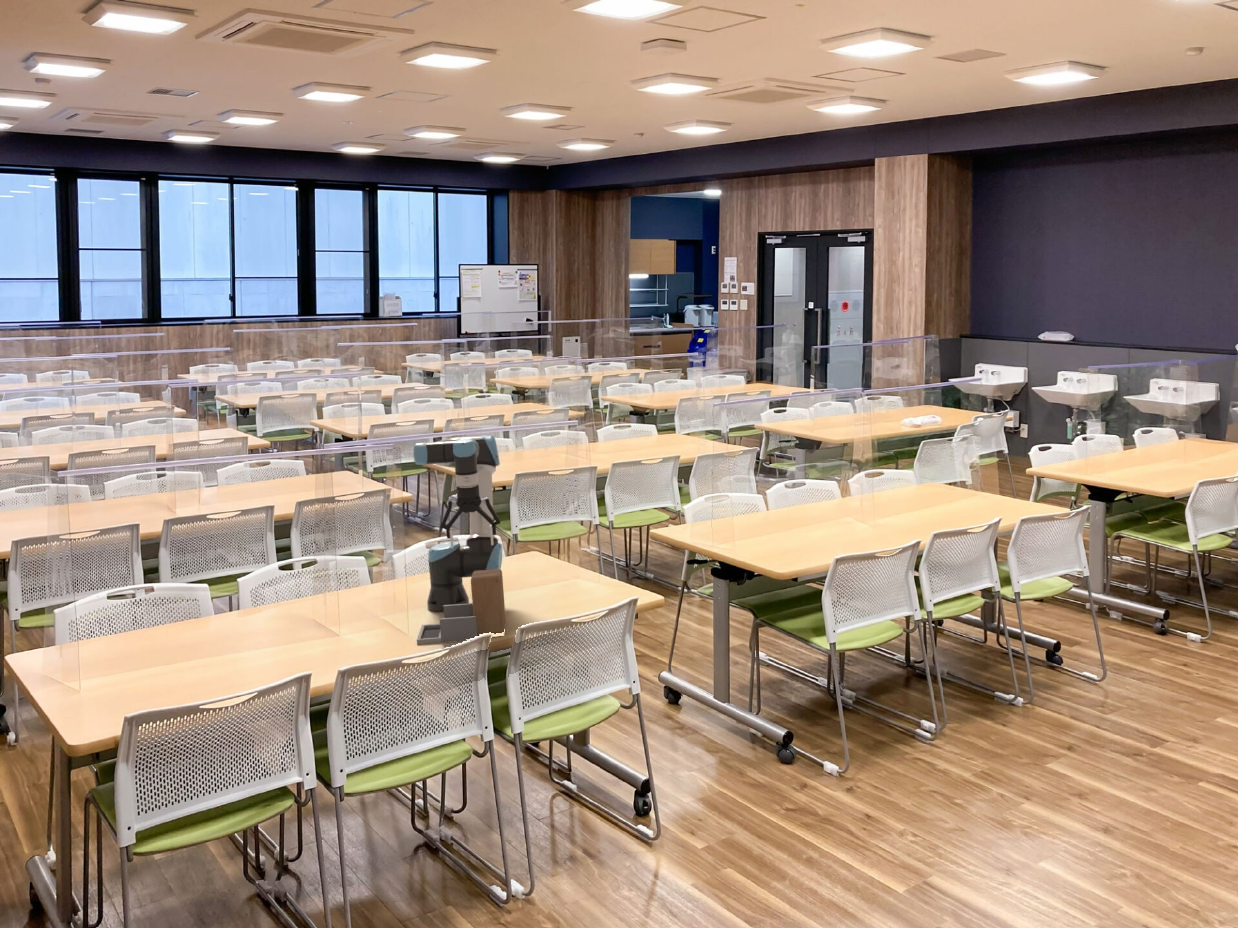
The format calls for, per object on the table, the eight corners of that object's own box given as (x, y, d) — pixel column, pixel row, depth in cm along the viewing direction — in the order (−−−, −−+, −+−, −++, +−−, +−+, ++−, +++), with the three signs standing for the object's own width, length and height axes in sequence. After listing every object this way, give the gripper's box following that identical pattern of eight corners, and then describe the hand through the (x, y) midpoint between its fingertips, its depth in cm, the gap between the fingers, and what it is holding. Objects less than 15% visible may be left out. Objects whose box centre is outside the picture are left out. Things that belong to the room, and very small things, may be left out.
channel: (445, 627, 405) (443, 605, 403) (480, 624, 405) (478, 602, 404) (441, 642, 389) (439, 619, 388) (477, 639, 390) (475, 616, 388)
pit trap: (422, 628, 404) (421, 624, 404) (445, 627, 405) (445, 623, 404) (417, 644, 389) (416, 639, 388) (441, 642, 389) (441, 638, 389)
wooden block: (504, 633, 394) (500, 576, 390) (474, 635, 394) (470, 578, 390) (506, 624, 404) (502, 568, 400) (477, 625, 403) (472, 569, 400)
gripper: (429, 490, 389) (435, 551, 394) (504, 485, 392) (509, 545, 396) (430, 485, 397) (436, 545, 401) (504, 480, 399) (508, 539, 404)
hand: (472, 545), depth 399 cm, fingers open, 13 cm apart
